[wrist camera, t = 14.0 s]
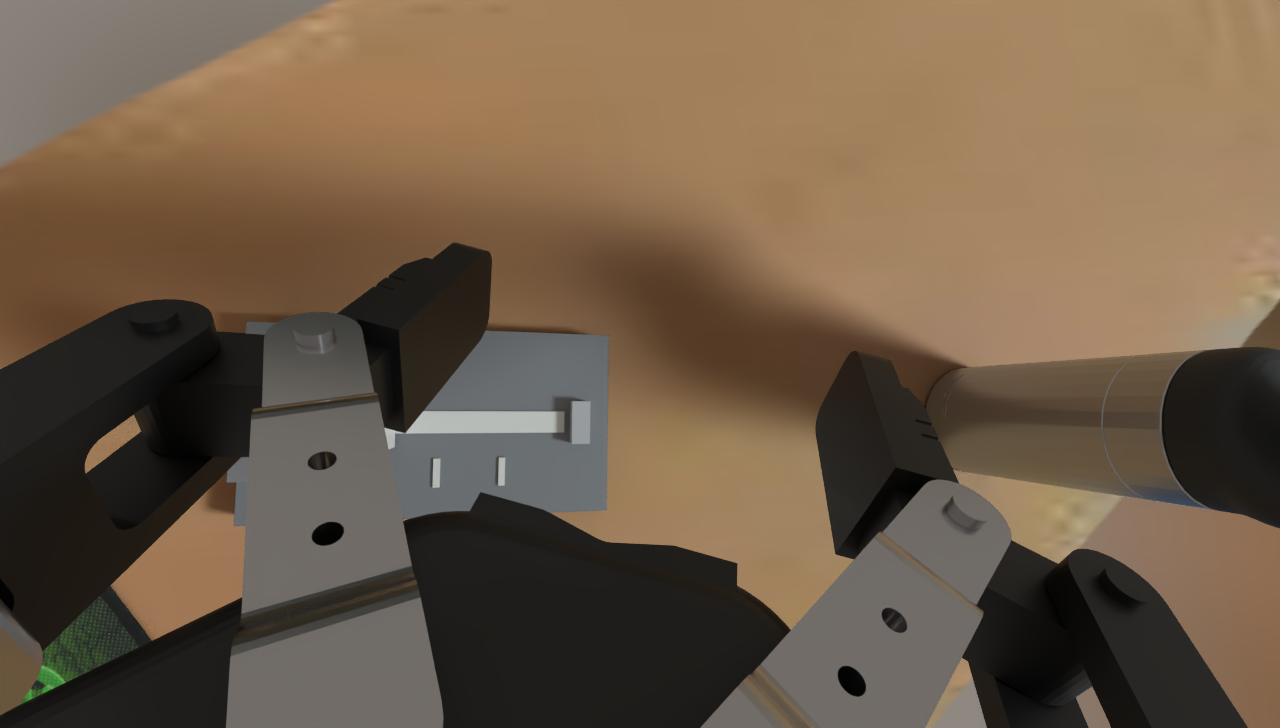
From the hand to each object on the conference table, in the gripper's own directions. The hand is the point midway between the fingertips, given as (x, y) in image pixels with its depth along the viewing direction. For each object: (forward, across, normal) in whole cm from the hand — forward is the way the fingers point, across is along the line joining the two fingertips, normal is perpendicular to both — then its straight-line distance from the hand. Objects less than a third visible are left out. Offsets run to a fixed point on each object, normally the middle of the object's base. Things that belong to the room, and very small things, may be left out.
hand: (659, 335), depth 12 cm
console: (+16, +13, +20) cm, 29 cm away
